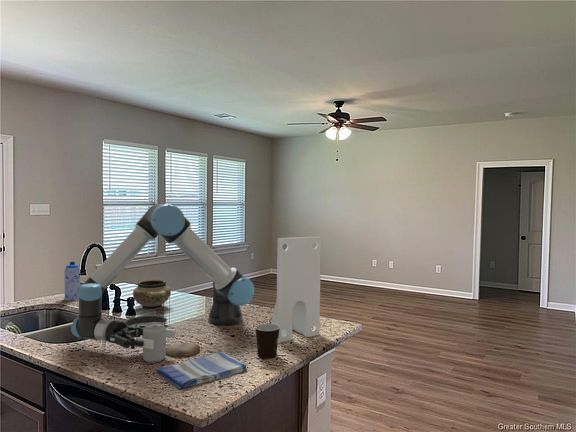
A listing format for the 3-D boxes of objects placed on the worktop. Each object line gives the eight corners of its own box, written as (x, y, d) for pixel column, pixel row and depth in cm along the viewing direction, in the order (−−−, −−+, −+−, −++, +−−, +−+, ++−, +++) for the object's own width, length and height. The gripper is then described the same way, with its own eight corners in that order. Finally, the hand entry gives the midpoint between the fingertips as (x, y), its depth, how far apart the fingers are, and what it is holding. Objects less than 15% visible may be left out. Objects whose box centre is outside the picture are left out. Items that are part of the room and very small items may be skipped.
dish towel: (249, 371, 135) (249, 363, 134) (180, 393, 119) (180, 383, 119) (220, 356, 148) (220, 348, 148) (155, 373, 132) (155, 364, 132)
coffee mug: (270, 361, 142) (270, 332, 142) (249, 356, 146) (250, 328, 146) (288, 351, 152) (289, 324, 151) (268, 347, 156) (269, 320, 156)
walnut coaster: (199, 344, 158) (199, 341, 158) (201, 355, 147) (201, 352, 147) (165, 346, 155) (165, 343, 155) (165, 358, 144) (165, 355, 144)
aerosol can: (70, 296, 231) (70, 260, 231) (83, 297, 230) (83, 260, 230) (60, 300, 223) (60, 262, 223) (74, 300, 223) (74, 263, 222)
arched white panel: (299, 325, 184) (301, 234, 183) (319, 334, 172) (321, 236, 171) (259, 332, 173) (260, 235, 172) (277, 342, 161) (278, 238, 160)
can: (144, 365, 138) (144, 328, 137) (141, 357, 144) (141, 322, 144) (168, 361, 141) (168, 325, 141) (163, 354, 148) (163, 320, 147)
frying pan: (165, 319, 191) (165, 311, 191) (175, 341, 161) (175, 332, 161) (122, 323, 184) (122, 315, 184) (125, 347, 154) (125, 337, 154)
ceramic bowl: (133, 309, 218) (125, 281, 216) (166, 297, 227) (159, 270, 224) (144, 321, 197) (135, 291, 195) (180, 307, 206) (172, 278, 204)
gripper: (134, 332, 160) (184, 339, 152) (85, 352, 138) (140, 362, 130) (134, 312, 159) (184, 318, 152) (85, 330, 137) (140, 338, 130)
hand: (164, 339), depth 141 cm, fingers open, 11 cm apart
